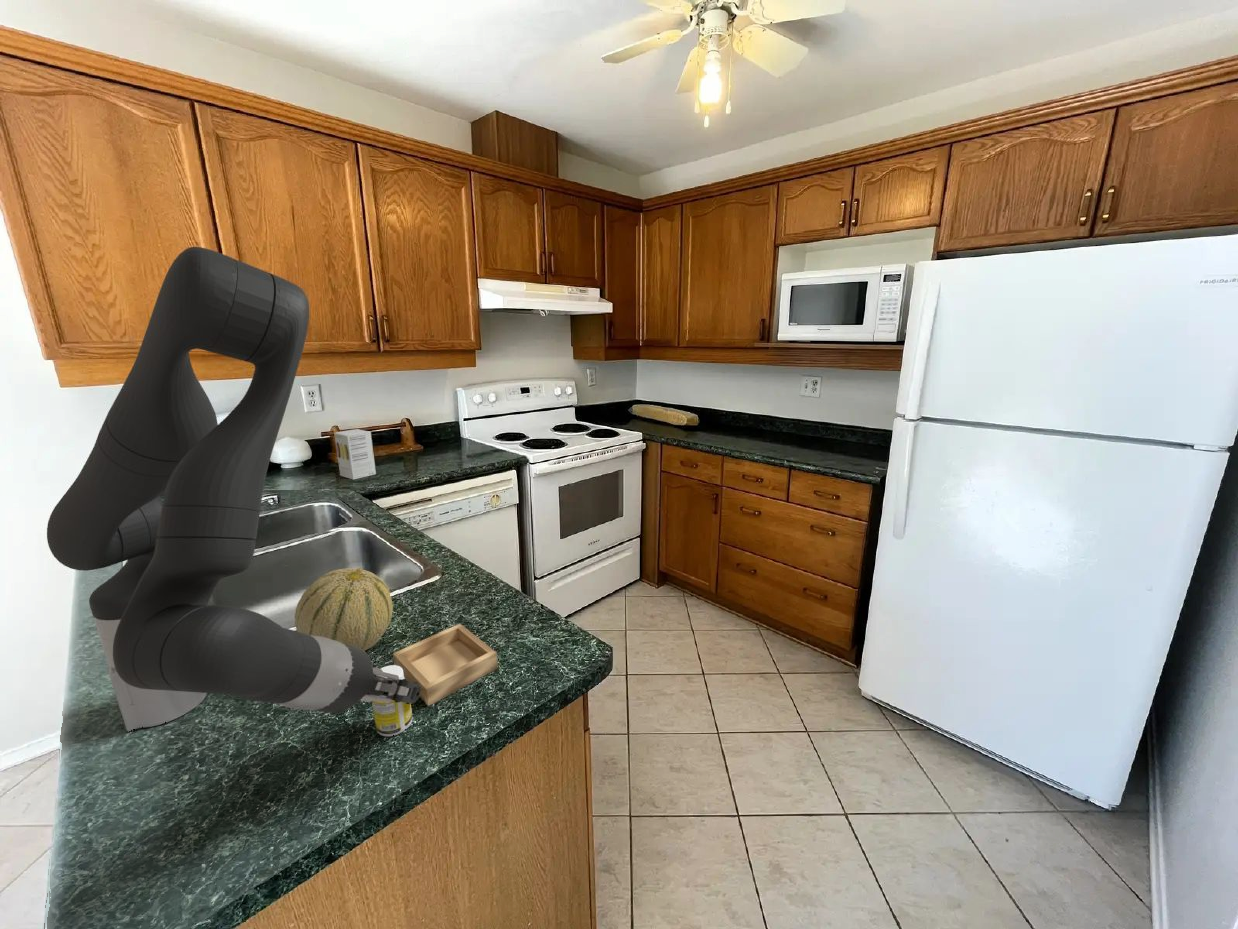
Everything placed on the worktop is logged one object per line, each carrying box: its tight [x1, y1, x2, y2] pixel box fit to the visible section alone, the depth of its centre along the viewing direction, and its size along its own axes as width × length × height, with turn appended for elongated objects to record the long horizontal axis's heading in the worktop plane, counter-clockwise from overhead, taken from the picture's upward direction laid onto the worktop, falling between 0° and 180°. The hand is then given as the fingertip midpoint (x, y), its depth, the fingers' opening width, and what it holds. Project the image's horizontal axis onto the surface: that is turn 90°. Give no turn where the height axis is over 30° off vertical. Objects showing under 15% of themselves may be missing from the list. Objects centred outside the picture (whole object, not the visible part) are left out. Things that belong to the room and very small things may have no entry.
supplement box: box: [333, 428, 377, 480], centre depth 189 cm, size 10×9×17 cm
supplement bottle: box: [371, 664, 413, 737], centre depth 70 cm, size 5×5×8 cm
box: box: [392, 623, 499, 707], centre depth 82 cm, size 12×12×3 cm
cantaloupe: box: [294, 567, 394, 652], centre depth 86 cm, size 15×15×15 cm
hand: (399, 691), depth 72 cm, fingers closed on supplement bottle, 4 cm apart
